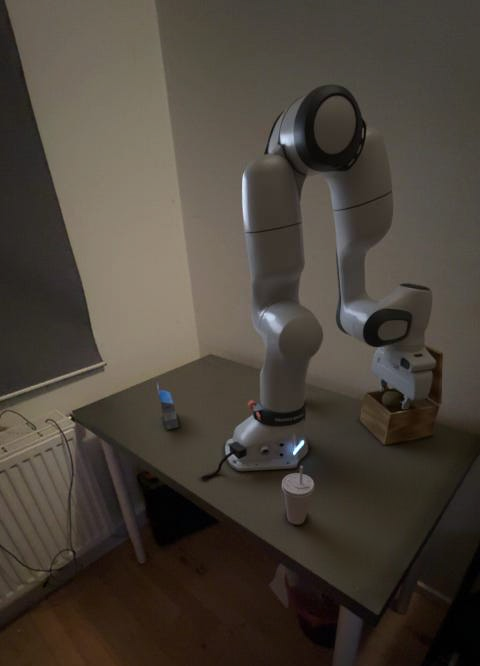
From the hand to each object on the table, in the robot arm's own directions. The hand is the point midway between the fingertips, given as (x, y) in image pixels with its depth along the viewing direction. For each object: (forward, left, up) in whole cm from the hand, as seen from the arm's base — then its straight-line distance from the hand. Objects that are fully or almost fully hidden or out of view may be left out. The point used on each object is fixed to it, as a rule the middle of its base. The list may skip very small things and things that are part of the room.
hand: (393, 400), depth 95 cm
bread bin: (+2, 0, -10) cm, 10 cm away
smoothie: (-37, -25, -10) cm, 46 cm away
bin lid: (+7, 0, +8) cm, 10 cm away
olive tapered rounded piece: (0, 0, -9) cm, 9 cm away
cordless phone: (-61, +23, -10) cm, 66 cm away
